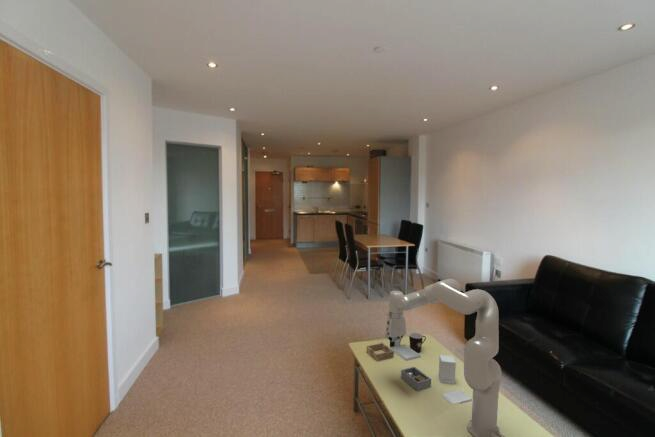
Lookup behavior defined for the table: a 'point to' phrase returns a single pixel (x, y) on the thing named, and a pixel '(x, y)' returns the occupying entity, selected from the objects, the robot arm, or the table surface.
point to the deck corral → (382, 356)
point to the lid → (404, 351)
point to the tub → (413, 382)
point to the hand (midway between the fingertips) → (395, 347)
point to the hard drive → (456, 397)
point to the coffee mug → (416, 341)
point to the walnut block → (419, 378)
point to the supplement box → (447, 369)
